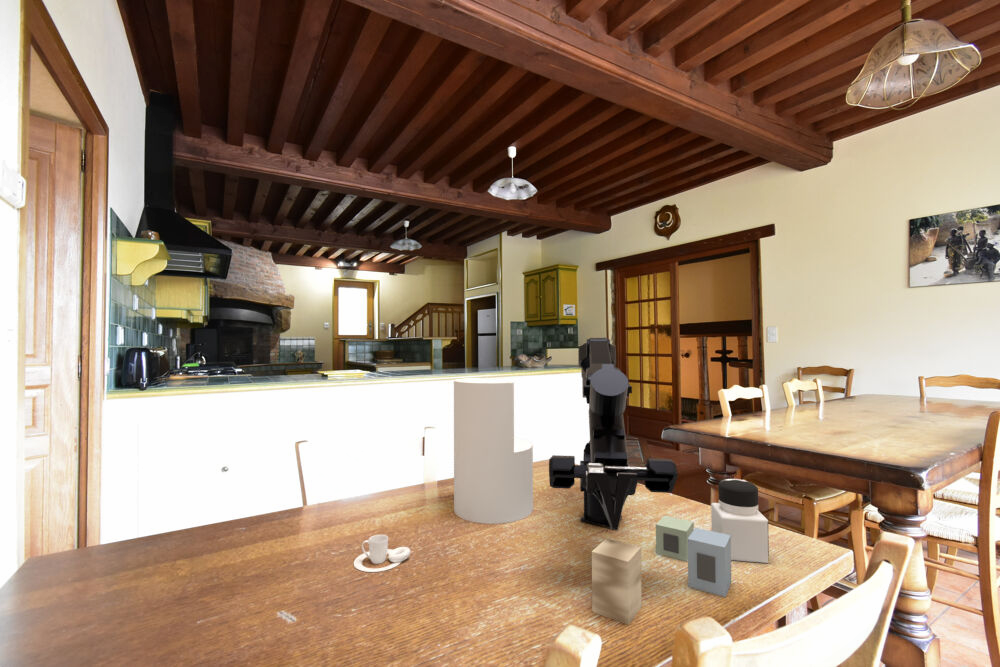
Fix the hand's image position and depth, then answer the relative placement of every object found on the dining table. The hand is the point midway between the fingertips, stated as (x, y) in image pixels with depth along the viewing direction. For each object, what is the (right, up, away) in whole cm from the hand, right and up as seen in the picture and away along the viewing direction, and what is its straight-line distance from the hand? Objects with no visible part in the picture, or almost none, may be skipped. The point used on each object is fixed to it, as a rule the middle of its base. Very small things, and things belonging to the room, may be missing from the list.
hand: (615, 529), depth 64 cm
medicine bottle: (+25, -10, +14) cm, 30 cm away
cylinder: (-18, -11, +36) cm, 41 cm away
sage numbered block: (+14, -10, +14) cm, 23 cm away
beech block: (0, -10, -2) cm, 10 cm away
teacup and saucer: (-34, -11, +9) cm, 37 cm away
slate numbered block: (+15, -10, +4) cm, 18 cm away
